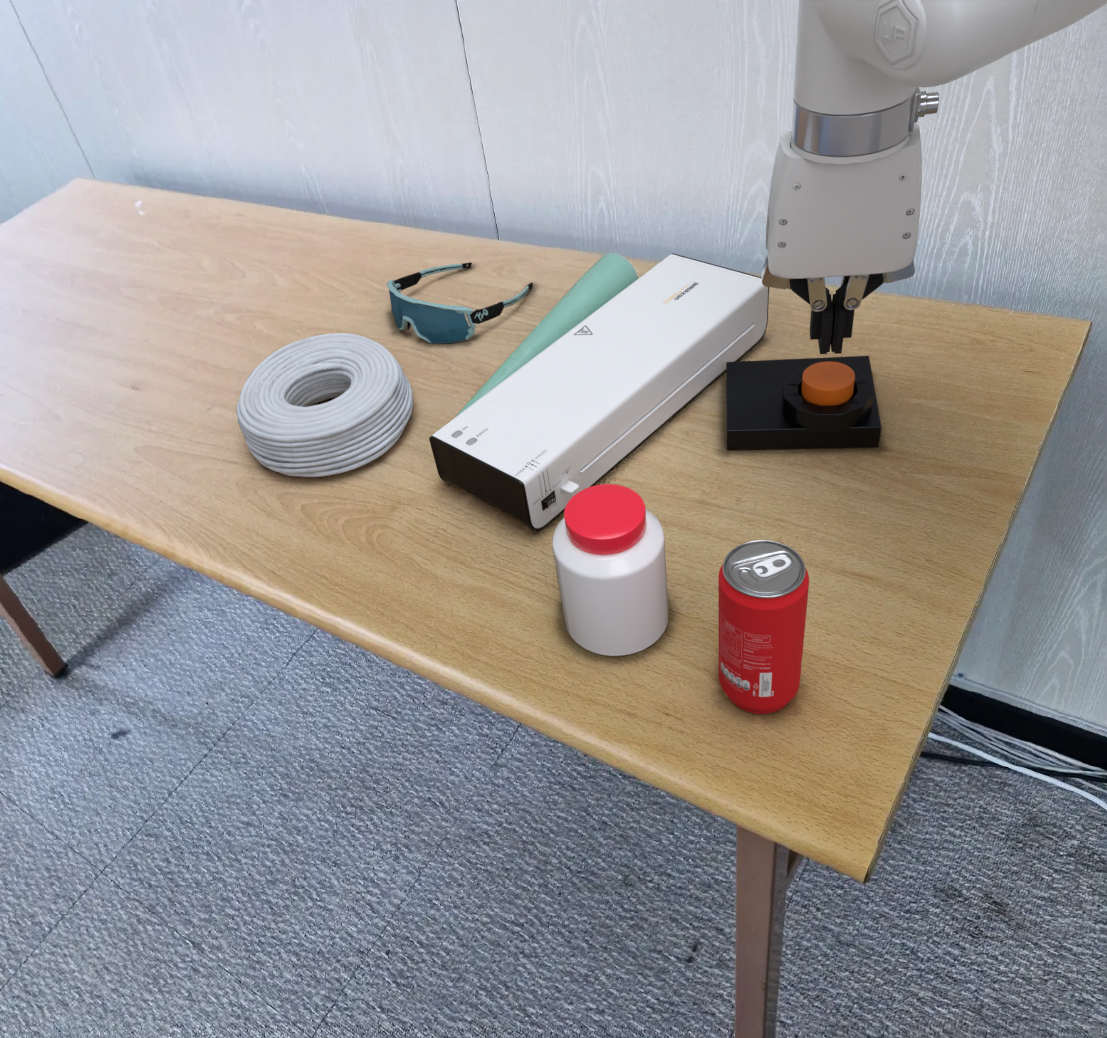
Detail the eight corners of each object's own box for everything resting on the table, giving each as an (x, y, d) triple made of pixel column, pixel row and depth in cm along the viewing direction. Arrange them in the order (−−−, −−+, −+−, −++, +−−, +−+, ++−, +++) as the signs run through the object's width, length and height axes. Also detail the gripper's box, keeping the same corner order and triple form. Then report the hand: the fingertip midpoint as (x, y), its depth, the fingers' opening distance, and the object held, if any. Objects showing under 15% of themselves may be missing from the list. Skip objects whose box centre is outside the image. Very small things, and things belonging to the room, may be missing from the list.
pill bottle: (689, 628, 71) (685, 520, 64) (596, 672, 70) (581, 568, 63) (634, 564, 77) (624, 458, 70) (546, 604, 76) (528, 500, 69)
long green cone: (419, 383, 92) (595, 248, 103) (431, 428, 95) (599, 293, 106) (461, 400, 88) (638, 258, 99) (471, 447, 92) (641, 305, 103)
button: (850, 377, 82) (852, 359, 81) (855, 406, 80) (857, 389, 78) (800, 379, 83) (801, 362, 82) (802, 407, 81) (803, 391, 80)
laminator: (672, 305, 102) (670, 252, 98) (778, 338, 94) (780, 281, 90) (441, 488, 89) (427, 435, 84) (542, 544, 81) (532, 489, 77)
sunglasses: (368, 322, 112) (361, 282, 109) (461, 276, 119) (457, 237, 116) (452, 358, 103) (447, 315, 100) (547, 306, 110) (546, 264, 107)
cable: (309, 366, 108) (293, 319, 104) (447, 385, 100) (435, 336, 96) (217, 467, 98) (196, 420, 94) (362, 498, 90) (346, 447, 86)
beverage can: (704, 674, 68) (702, 555, 60) (771, 647, 69) (778, 526, 61) (744, 730, 64) (748, 611, 56) (815, 702, 65) (828, 580, 57)
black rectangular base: (866, 375, 88) (871, 338, 85) (879, 451, 80) (884, 412, 78) (726, 381, 91) (726, 345, 88) (726, 453, 84) (726, 417, 81)
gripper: (965, 83, 67) (925, 312, 79) (734, 109, 71) (731, 322, 83) (985, 130, 61) (939, 368, 74) (735, 155, 66) (731, 375, 78)
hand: (829, 343), depth 79 cm, fingers closed
